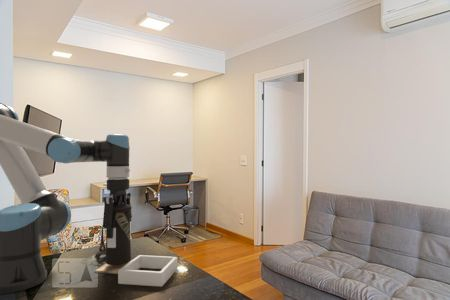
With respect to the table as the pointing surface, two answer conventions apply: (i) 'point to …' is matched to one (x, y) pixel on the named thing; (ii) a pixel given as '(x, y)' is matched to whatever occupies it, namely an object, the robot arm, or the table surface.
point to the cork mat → (110, 268)
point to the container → (120, 237)
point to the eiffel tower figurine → (97, 256)
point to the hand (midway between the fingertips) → (118, 243)
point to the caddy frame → (148, 278)
